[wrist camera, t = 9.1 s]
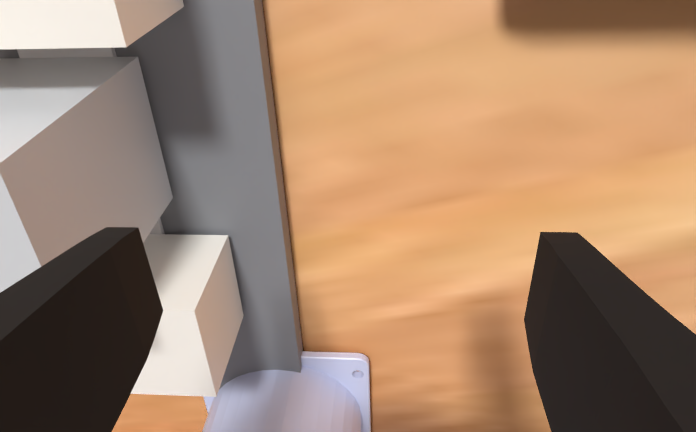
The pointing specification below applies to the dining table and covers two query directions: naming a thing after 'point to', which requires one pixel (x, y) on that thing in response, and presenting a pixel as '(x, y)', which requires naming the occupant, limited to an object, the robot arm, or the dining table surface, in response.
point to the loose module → (74, 157)
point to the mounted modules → (162, 249)
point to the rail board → (222, 160)
